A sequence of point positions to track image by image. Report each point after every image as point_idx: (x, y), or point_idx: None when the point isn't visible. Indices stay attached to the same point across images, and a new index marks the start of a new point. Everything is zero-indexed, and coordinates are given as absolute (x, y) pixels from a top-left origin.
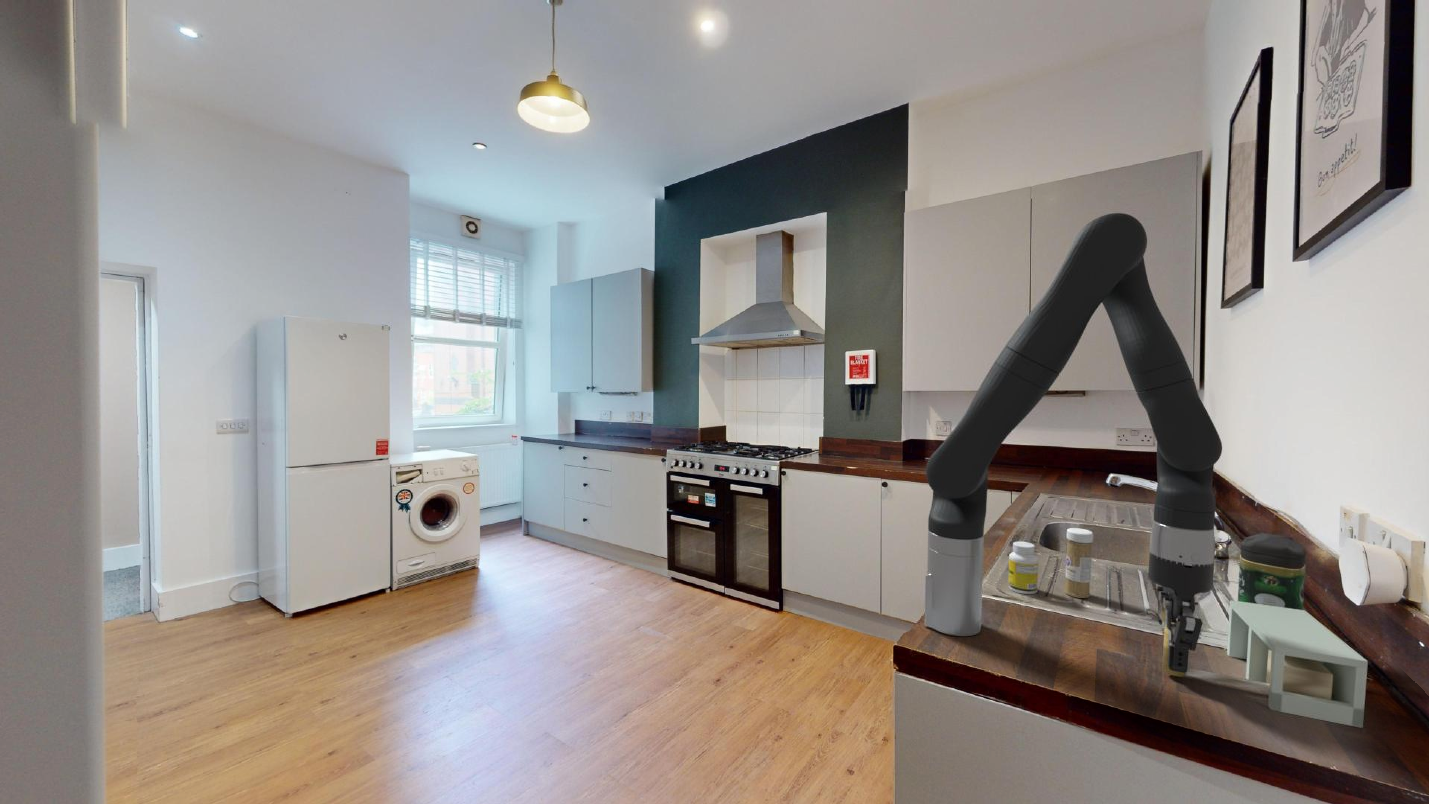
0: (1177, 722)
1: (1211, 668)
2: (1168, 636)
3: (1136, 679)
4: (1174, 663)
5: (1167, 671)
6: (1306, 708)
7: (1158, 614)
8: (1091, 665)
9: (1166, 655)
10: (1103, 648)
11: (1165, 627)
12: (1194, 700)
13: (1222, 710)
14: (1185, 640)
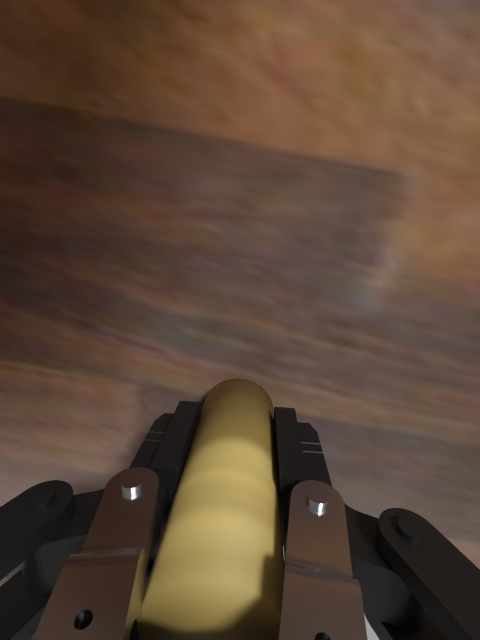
0: None
1: None
2: (184, 501)
3: (160, 275)
4: (152, 429)
5: (211, 390)
6: None
7: (476, 567)
8: (208, 117)
9: (211, 421)
10: (412, 205)
11: (204, 537)
12: (98, 411)
13: (76, 460)
14: (37, 577)
